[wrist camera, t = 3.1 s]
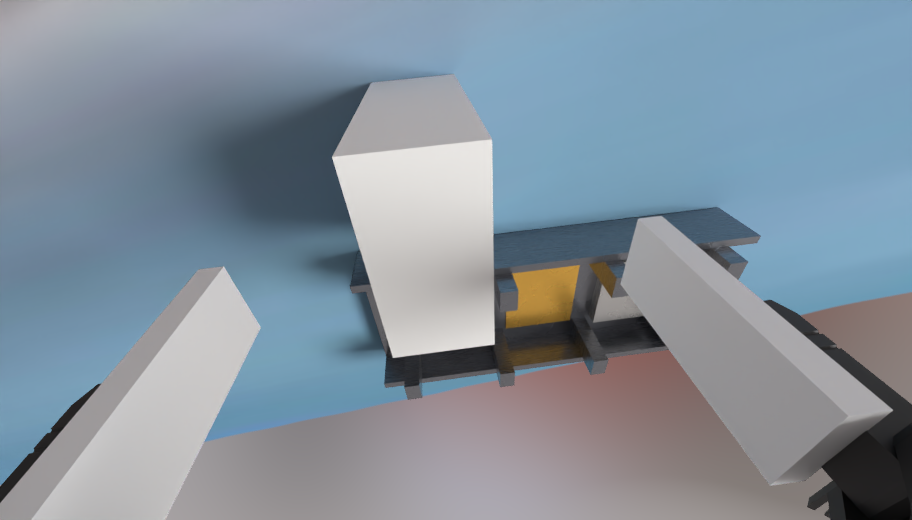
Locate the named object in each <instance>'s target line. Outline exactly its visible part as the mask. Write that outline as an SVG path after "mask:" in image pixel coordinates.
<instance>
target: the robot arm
mask: <svg viewBox="0 0 912 520" xmlns="http://www.w3.org/2000/svg"><path fill="white" fill-rule="evenodd" d="M621 286H622V287H623V288H624V290H625V291H626V292H627V294H628V295H629V296H630V298H631V299H632V300H633V302H634V303H635V304H636V306H637V307H638V308H639V310H640V311H641V312H642V314H643V315H644V317H645V318H646V319H647V321H648V322H649V323H650V325H651V326H652V327H653V329H654V330H655V331H656V333H657V334H658V335H659V337H660V338H661V339H662V341H663V342H664V343H665V345H666V346H667V347H668V349H669V350H670V351H671V353H672V354H673V355H674V357H675V358H676V360H677V361H678V362H679V363H680V365H681V366H682V368H683V369H684V370H685V372H686V373H687V374H688V376H689V377H690V378H691V380H692V381H693V382H694V383H695V385H696V386H697V388H698V389H699V390H700V392H701V393H702V395H703V396H704V397H705V399H706V400H707V401H708V402H709V404H710V405H711V407H712V408H713V409H714V411H715V412H716V413H717V415H718V416H719V417H720V419H721V420H722V421H723V423H724V424H725V425H726V427H727V428H728V429H729V431H730V432H731V433H732V435H733V436H734V438H735V439H736V440H737V442H738V443H739V444H740V446H741V447H742V448H743V450H744V451H745V452H746V454H747V455H748V456H749V458H750V459H751V460H752V462H753V463H754V464H755V466H756V467H757V468H758V470H759V471H760V472H761V474H762V475H763V477H764V478H765V479H766V481H767V482H768V483H769V485H770V486H771V485H778V484H785V483H792V482H799V481H806V480H807V479H808V478H809V477H810V476H812V475H813V474H814V473H816V472H817V471H818V470H819V469H821V468H823V469H824V470H825V471H826V473H827V474H828V475H829V476H830V477H831V478H832V480H833V481H832V482H830V483H829V484H828V485H826V486H825V487H823V488H822V489H821V490H819V491H818V492H817V493H815V494H814V495H813V496H811V497H810V498H809V502H808V506H807V507H808V508H811V509H813V510H815V509H817V508H818V507H820V506H821V505H823V504H824V503H825V502H827V501H828V502H829V509H828V511H827V512H826V513H825V516H827V517H829V518H830V519H831V520H912V405H911V404H910V403H909V402H908V401H907V400H905V399H904V398H903V397H901V396H900V395H899V394H898V393H896V392H895V391H894V390H893V389H891V388H890V387H889V386H888V385H886V384H885V383H884V382H883V381H881V380H880V379H879V378H877V377H876V376H875V375H874V374H873V373H871V372H870V371H869V370H868V369H866V368H865V367H864V366H863V365H861V364H860V363H859V362H857V361H856V360H855V359H854V358H852V357H851V356H850V355H849V354H847V353H846V352H845V351H844V350H842V349H838V348H837V347H836V344H835V343H834V342H832V341H831V340H830V339H829V338H827V337H826V336H825V335H823V334H819V333H818V330H817V329H816V328H815V327H813V326H812V325H811V324H810V323H808V322H807V321H806V320H805V319H803V318H802V317H801V316H800V315H798V314H797V313H795V312H793V311H792V310H790V309H788V308H786V307H784V306H782V305H780V304H778V303H776V302H774V301H772V300H766V301H762V300H761V299H760V298H759V297H758V296H756V295H755V294H754V293H753V292H752V291H751V290H749V289H748V288H747V287H746V286H745V285H743V284H742V283H741V282H740V281H739V280H737V279H736V278H735V277H734V276H733V275H731V274H730V273H729V272H728V271H727V270H725V269H724V268H723V267H722V266H721V265H720V264H718V263H717V262H716V261H715V260H714V259H712V258H711V257H710V256H709V255H708V254H706V253H705V252H704V251H703V250H702V249H700V248H699V247H698V246H697V245H696V244H694V243H693V242H692V241H691V240H690V239H688V238H687V237H686V236H685V235H684V234H683V233H681V232H680V231H679V230H678V229H677V228H675V227H674V226H673V225H672V224H671V223H669V222H668V221H667V220H666V219H665V218H663V217H662V216H656V217H647V218H639V219H638V221H637V225H636V228H635V232H634V236H633V239H632V243H631V247H630V250H629V254H628V258H627V262H626V265H625V269H624V273H623V276H622V280H621ZM260 328H261V327H260V326H259V324H258V322H257V321H256V319H255V317H254V316H253V314H252V312H251V311H250V309H249V307H248V306H247V304H246V302H245V301H244V299H243V298H242V296H241V294H240V293H239V291H238V289H237V288H236V286H235V284H234V283H233V281H232V279H231V278H230V276H229V274H228V273H227V271H226V270H225V268H224V267H215V268H207V269H199V270H198V271H197V272H196V273H195V274H194V276H193V277H192V278H191V279H190V280H189V281H188V283H187V284H186V285H185V286H184V287H183V288H182V290H181V291H180V292H179V293H178V294H177V296H176V297H175V298H174V299H173V300H172V301H171V303H170V304H169V305H168V306H167V307H166V308H165V310H164V311H163V312H162V313H161V314H160V316H159V317H158V318H157V319H156V320H155V321H154V323H153V324H152V325H151V326H150V327H149V329H148V330H147V331H146V332H145V333H144V334H143V336H142V337H141V338H140V339H139V340H138V341H137V343H136V344H135V345H134V346H133V347H132V349H131V350H130V351H129V352H128V353H127V354H126V356H125V357H124V358H123V359H122V360H121V361H120V363H119V364H118V365H117V366H116V367H115V369H114V370H113V371H112V372H111V373H110V374H109V376H108V377H107V378H106V379H105V380H104V382H103V383H102V384H98V385H96V386H95V387H94V388H93V389H91V390H90V391H89V392H88V393H86V394H85V395H84V396H83V397H81V398H80V399H79V400H78V401H76V402H75V403H74V404H73V405H71V407H70V408H69V409H68V410H67V411H66V412H65V413H64V415H63V416H62V417H61V418H60V419H59V420H58V421H57V423H56V424H55V425H54V426H53V427H52V428H51V429H52V431H51V433H47V434H46V435H45V436H44V437H43V438H42V440H41V441H40V442H39V443H38V444H37V445H36V446H35V448H34V452H33V453H31V454H28V456H27V457H26V458H25V459H24V460H23V461H22V462H21V464H20V465H19V466H18V467H17V468H16V469H15V470H14V471H13V473H12V474H11V475H10V476H9V477H8V478H7V479H6V481H5V482H4V483H3V484H2V485H1V486H0V520H165V519H166V517H167V515H168V513H169V511H170V509H171V507H172V505H173V503H174V501H175V499H176V497H177V495H178V493H179V491H180V489H181V487H182V485H183V483H184V481H185V479H186V477H187V475H188V473H189V471H190V469H191V467H192V464H193V463H194V461H195V459H196V457H197V455H198V453H199V451H200V449H201V447H202V445H203V443H204V441H205V439H206V437H207V435H208V433H209V431H210V429H211V427H212V425H213V423H214V421H215V419H216V417H217V415H218V412H219V410H220V408H221V406H222V404H223V402H224V400H225V398H226V396H227V394H228V392H229V390H230V388H231V386H232V384H233V382H234V380H235V378H236V376H237V374H238V372H239V370H240V368H241V366H242V364H243V362H244V360H245V358H246V356H247V354H248V352H249V350H250V348H251V346H252V344H253V342H254V340H255V338H256V336H257V334H258V332H259V330H260Z"/></svg>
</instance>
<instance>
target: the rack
mask: <svg viewBox="0 0 912 520" xmlns="http://www.w3.org/2000/svg"><path fill="white" fill-rule="evenodd" d="M656 216H662V217H663V218H665V219H666V220H667V221H668V222H669V223H671V224H672V225H673V226H674V227H675V228H677V229H678V230H679V231H680V232H681V233H683V234H684V235H685V236H686V237H687V238H688V239H690V240H691V241H692V242H693V243H694V244H696V245H697V246H698V247H699V248H700V249H702V250H703V251H704V252H705V253H706V254H708V255H709V256H710V257H711V258H712V259H714V260H715V261H716V262H717V263H718V264H720V265H721V266H722V267H723V268H724V269H725V270H727V271H728V272H729V273H730V274H731V275H733V276H734V277H735V278H736V279H737V280H738V279H739V277H740V276H741V274H742V272H743V270H744V268H745V267H746V265H747V263H748V261H747V260H745V259H744V258H743V257H741V256H740V255H739V254H738V253H736V252H735V251H734V250H732V249H731V248H730V247H729V246H737V245H745V244H753V243H757V242H758V240H759V238H760V237H761V236H760V235H759V234H757V233H756V232H754V231H753V230H751V229H750V228H748V227H747V226H745V225H744V224H742V223H741V222H739V221H738V220H736V219H735V218H733V217H732V216H730V215H729V214H727V213H726V212H724V211H723V210H721V209H720V208H710V209H702V210H694V211H686V212H677V213H669V214H661V215H652V216H644V217H636V218H628V219H619V220H611V221H603V222H594V223H586V224H578V225H570V226H561V227H553V228H545V229H536V230H528V231H520V232H512V233H503V234H495V235H493V251H494V329H495V345H487V346H480V347H472V348H464V349H457V350H449V351H442V352H434V353H426V354H419V355H411V356H404V357H396V358H393V357H392V353H391V350H390V347H389V343H388V340H387V337H386V333H385V330H384V327H383V324H382V320H381V317H380V314H379V310H378V307H377V304H376V300H375V297H374V294H373V291H372V287H371V284H370V281H369V277H368V274H367V271H366V268H365V264H364V261H363V258H362V254H361V251H358V253H357V257H356V262H355V266H354V271H353V275H352V280H351V284H350V289H351V291H352V293H360V292H366V294H367V297H368V300H369V303H370V306H371V309H372V312H373V315H374V319H375V322H376V325H377V328H378V331H379V334H380V337H381V340H382V344H383V347H384V350H385V353H386V368H385V382H384V384H385V387H386V388H388V387H395V386H403V385H404V388H405V391H406V395H407V398H408V400H409V399H416V398H422V383H425V382H433V381H440V380H447V379H455V378H462V377H470V376H477V375H485V374H492V373H497V375H498V380H499V384H500V387H505V386H512V385H514V378H515V372H514V370H522V369H529V368H537V367H544V366H552V365H559V364H566V363H574V362H581V361H584V362H585V364H586V366H587V368H588V370H589V372H590V374H591V375H592V374H600V373H605V369H606V366H607V363H608V358H611V357H618V356H625V355H633V354H641V353H648V352H656V351H663V350H669V349H668V347H667V346H666V345H665V343H664V342H663V341H662V339H661V338H660V337H659V335H658V334H657V333H656V331H655V330H654V329H653V327H652V326H651V325H650V323H649V322H648V321H647V319H646V318H645V317H644V315H643V314H642V312H641V311H640V310H639V308H638V307H637V306H636V304H635V303H634V302H633V300H632V299H631V298H630V296H629V295H628V294H627V292H626V291H625V290H624V288H623V287H622V286H621V280H622V276H623V273H624V269H625V265H626V262H627V258H628V254H629V250H630V247H631V243H632V239H633V236H634V232H635V228H636V225H637V221H638V219H639V218H647V217H656Z"/></svg>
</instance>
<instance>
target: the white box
mask: <svg viewBox="0 0 912 520" xmlns="http://www.w3.org/2000/svg"><path fill="white" fill-rule="evenodd" d="M332 159H333V162H334V165H335V169H336V172H337V175H338V179H339V182H340V185H341V188H342V192H343V195H344V198H345V202H346V205H347V208H348V211H349V215H350V218H351V221H352V225H353V228H354V231H355V235H356V238H357V241H358V244H359V248H360V251H361V254H362V258H363V261H364V264H365V268H366V271H367V274H368V277H369V281H370V284H371V287H372V291H373V294H374V297H375V300H376V304H377V307H378V310H379V314H380V317H381V320H382V324H383V327H384V330H385V333H386V337H387V340H388V343H389V347H390V350H391V353H392V357H393V358H396V357H404V356H411V355H419V354H426V353H434V352H442V351H449V350H457V349H464V348H472V347H480V346H487V345H495V329H494V251H493V174H492V138H491V137H490V135H489V133H488V132H487V130H486V128H485V126H484V125H483V123H482V121H481V120H480V118H479V116H478V114H477V113H476V111H475V109H474V108H473V106H472V104H471V102H470V101H469V99H468V97H467V96H466V94H465V92H464V90H463V89H462V87H461V85H460V84H459V82H458V80H457V78H456V77H455V75H454V74H449V75H440V76H430V77H421V78H411V79H401V80H392V81H382V82H373V83H371V84H370V86H369V88H368V90H367V92H366V93H365V95H364V97H363V99H362V101H361V103H360V105H359V107H358V109H357V111H356V112H355V114H354V116H353V118H352V120H351V122H350V124H349V126H348V128H347V130H346V131H345V133H344V135H343V137H342V139H341V141H340V143H339V145H338V147H337V149H336V150H335V152H334V154H333V156H332Z"/></svg>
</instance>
